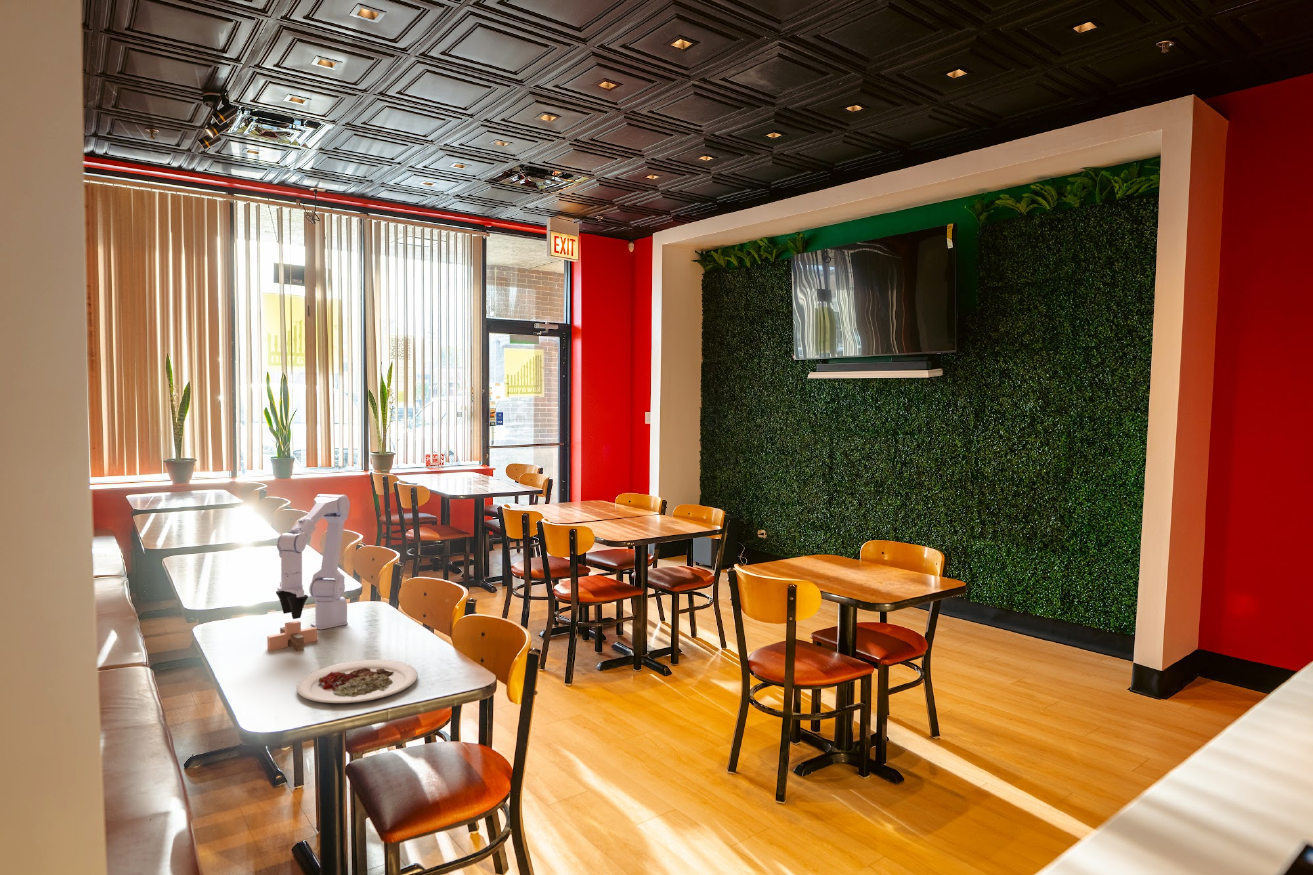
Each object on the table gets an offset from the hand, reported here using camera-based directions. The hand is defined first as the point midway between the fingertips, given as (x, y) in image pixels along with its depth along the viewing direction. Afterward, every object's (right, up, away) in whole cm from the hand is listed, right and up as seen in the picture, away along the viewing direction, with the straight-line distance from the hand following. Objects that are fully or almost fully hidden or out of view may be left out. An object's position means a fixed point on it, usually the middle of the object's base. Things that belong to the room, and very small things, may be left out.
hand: (291, 615), depth 228 cm
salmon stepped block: (0, -9, +1) cm, 9 cm away
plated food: (+33, -12, -30) cm, 46 cm away
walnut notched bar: (0, -9, 0) cm, 9 cm away
